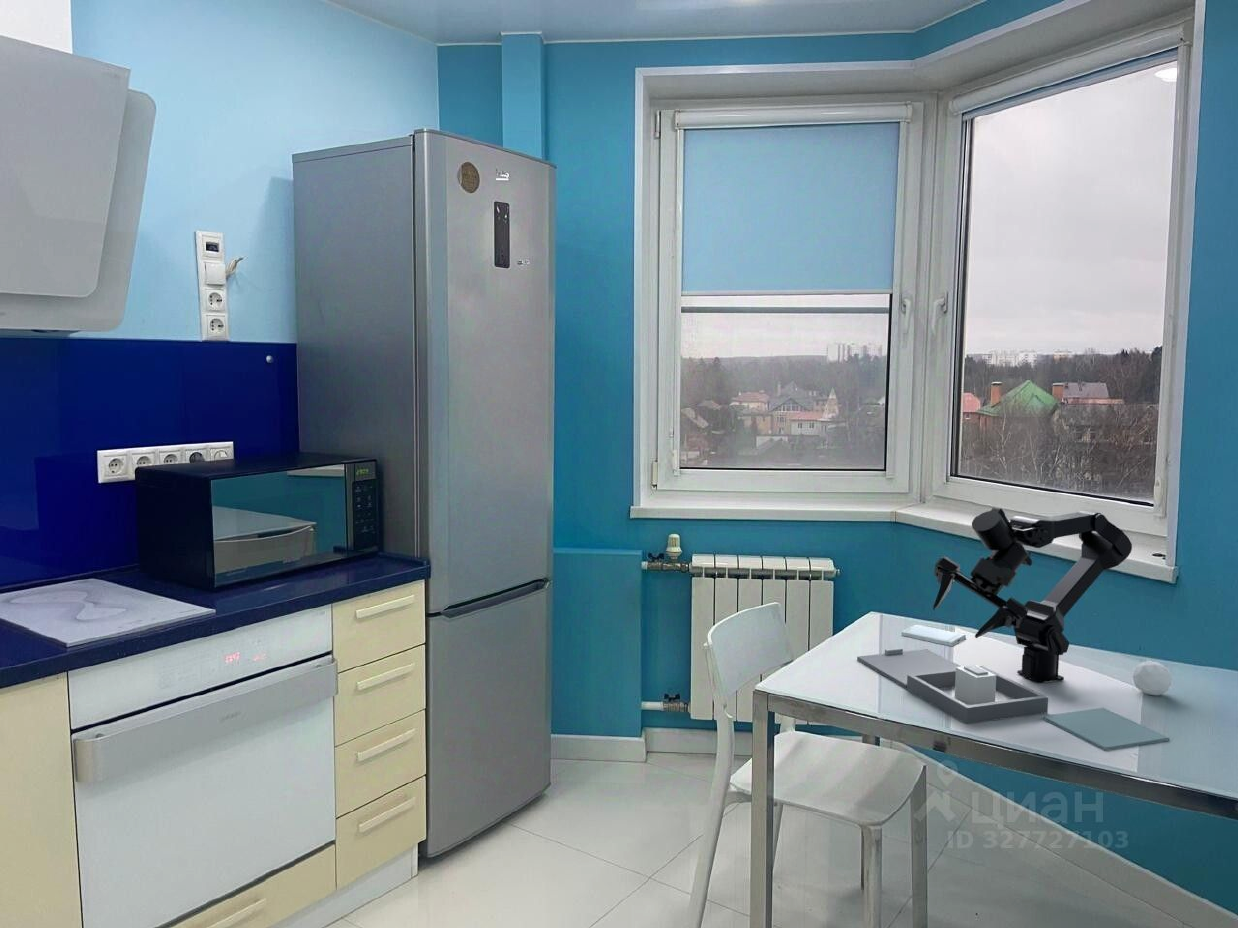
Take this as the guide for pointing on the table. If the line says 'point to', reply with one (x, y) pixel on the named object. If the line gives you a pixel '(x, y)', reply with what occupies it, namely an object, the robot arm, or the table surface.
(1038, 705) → the case
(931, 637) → the hard drive
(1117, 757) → the table surface
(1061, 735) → the table surface
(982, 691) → the block
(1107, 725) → the mat
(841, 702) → the table surface
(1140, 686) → the ornament
